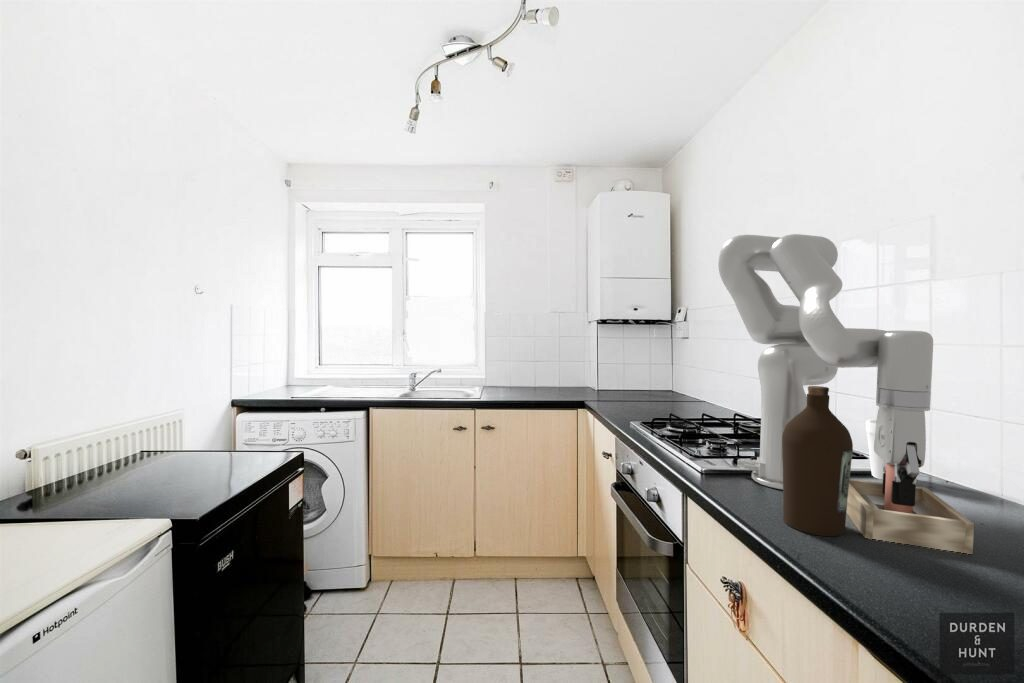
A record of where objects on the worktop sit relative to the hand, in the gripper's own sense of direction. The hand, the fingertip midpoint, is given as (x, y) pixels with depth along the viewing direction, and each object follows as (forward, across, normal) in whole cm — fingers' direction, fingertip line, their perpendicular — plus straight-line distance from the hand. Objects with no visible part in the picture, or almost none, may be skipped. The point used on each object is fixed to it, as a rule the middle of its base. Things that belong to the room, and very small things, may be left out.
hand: (897, 499), depth 86 cm
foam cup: (+5, -33, +8) cm, 34 cm away
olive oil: (+5, +7, -14) cm, 16 cm away
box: (+5, 0, 0) cm, 5 cm away
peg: (+3, 0, 0) cm, 3 cm away
